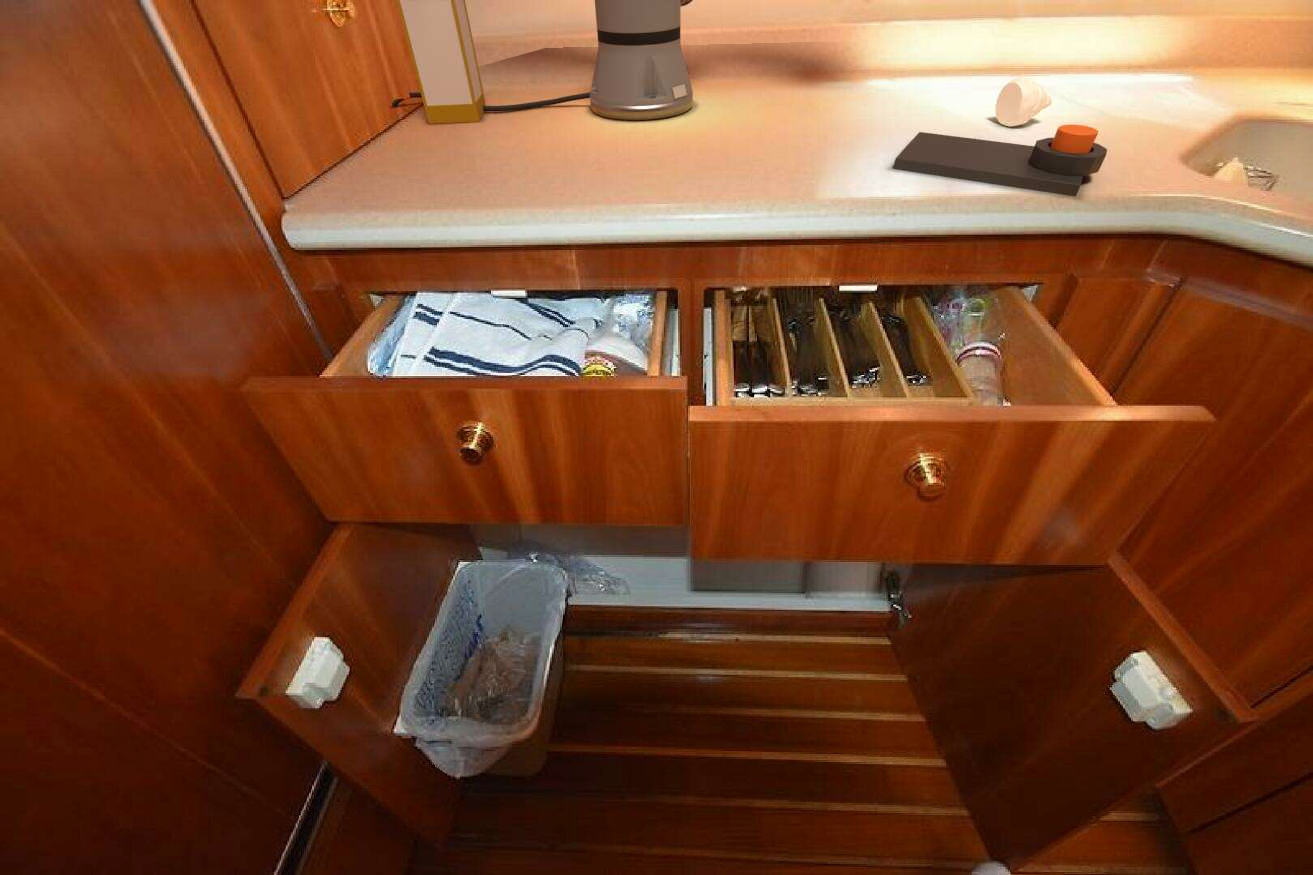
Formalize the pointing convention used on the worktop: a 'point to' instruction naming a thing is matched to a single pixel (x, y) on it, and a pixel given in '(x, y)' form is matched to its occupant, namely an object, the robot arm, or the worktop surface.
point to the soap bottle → (443, 59)
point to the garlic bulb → (1020, 101)
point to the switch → (1074, 139)
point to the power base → (1000, 162)
